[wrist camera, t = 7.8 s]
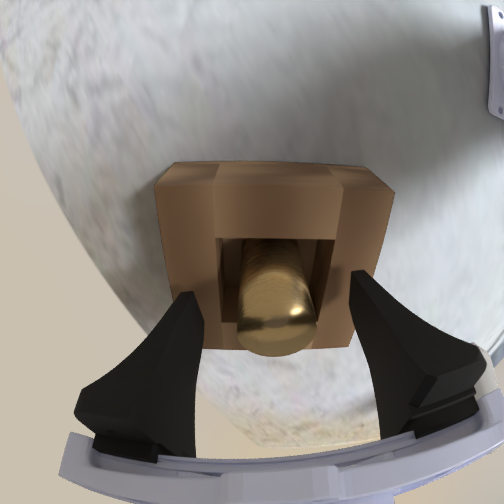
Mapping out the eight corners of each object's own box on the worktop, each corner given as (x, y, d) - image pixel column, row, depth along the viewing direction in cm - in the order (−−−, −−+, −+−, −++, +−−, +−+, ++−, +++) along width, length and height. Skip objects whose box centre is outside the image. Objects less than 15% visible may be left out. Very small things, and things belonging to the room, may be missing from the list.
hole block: (366, 167, 14) (395, 192, 11) (336, 308, 19) (348, 346, 16) (174, 162, 14) (153, 186, 11) (192, 307, 19) (184, 347, 16)
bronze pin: (296, 222, 15) (317, 299, 10) (300, 270, 17) (316, 351, 12) (236, 230, 15) (229, 309, 10) (246, 276, 17) (244, 359, 12)
